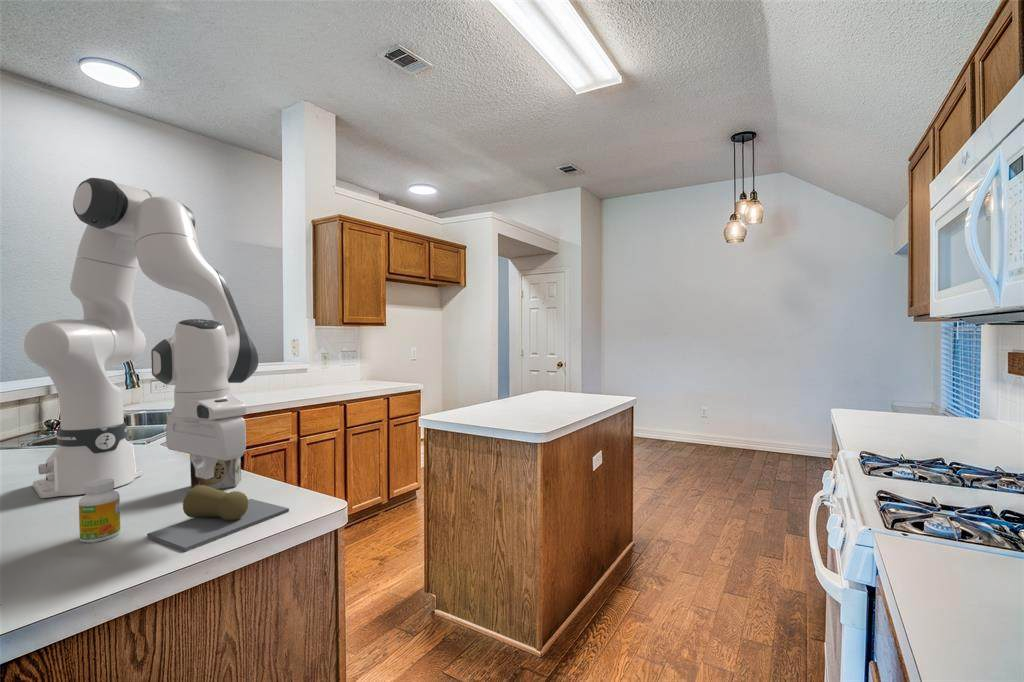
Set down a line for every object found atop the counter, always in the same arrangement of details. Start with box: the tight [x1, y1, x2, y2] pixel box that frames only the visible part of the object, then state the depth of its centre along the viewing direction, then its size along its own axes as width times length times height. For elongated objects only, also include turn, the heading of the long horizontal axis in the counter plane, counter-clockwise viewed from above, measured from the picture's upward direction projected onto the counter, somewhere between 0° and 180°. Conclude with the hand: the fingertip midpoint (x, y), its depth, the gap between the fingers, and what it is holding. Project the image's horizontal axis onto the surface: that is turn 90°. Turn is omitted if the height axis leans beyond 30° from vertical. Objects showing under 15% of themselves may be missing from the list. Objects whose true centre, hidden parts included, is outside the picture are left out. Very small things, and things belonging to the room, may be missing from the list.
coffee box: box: [189, 454, 242, 490], centre depth 110 cm, size 9×6×16 cm
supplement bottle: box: [78, 479, 121, 544], centre depth 82 cm, size 5×5×10 cm
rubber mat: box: [146, 498, 290, 552], centre depth 88 cm, size 12×19×1 cm, turn 152°
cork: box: [182, 485, 249, 521], centre depth 89 cm, size 6×6×11 cm
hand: (204, 477), depth 89 cm, fingers closed
